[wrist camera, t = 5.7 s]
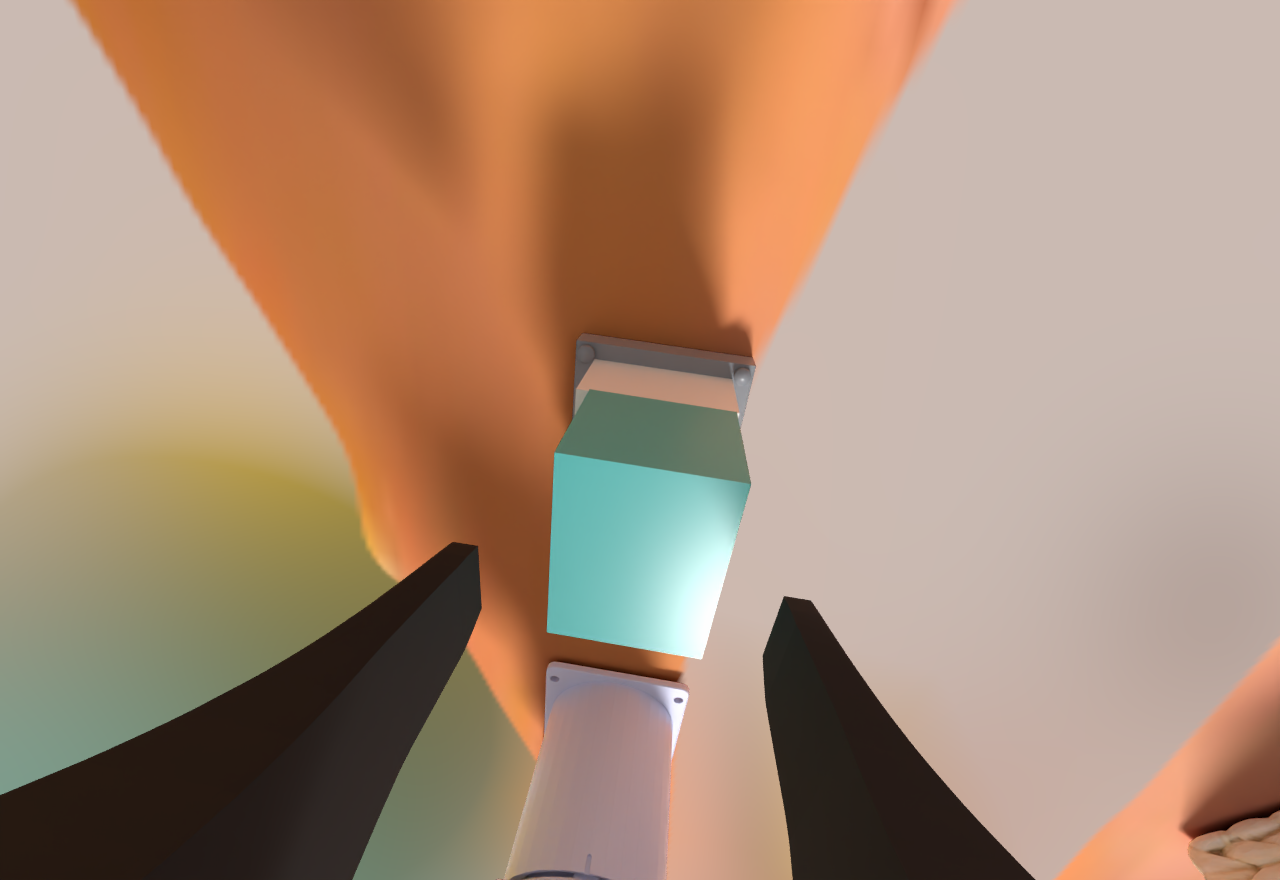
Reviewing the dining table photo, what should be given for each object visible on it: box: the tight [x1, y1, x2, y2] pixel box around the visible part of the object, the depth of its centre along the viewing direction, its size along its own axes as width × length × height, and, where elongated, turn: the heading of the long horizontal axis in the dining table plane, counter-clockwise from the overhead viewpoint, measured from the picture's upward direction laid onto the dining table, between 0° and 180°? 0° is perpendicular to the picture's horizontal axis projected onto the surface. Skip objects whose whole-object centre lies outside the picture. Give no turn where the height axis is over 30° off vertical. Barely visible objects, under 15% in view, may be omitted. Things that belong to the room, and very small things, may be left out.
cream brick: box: [575, 359, 740, 418], centre depth 17 cm, size 6×5×3 cm
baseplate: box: [572, 333, 756, 429], centre depth 18 cm, size 7×6×1 cm
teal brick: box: [547, 389, 751, 659], centre depth 14 cm, size 6×4×4 cm
